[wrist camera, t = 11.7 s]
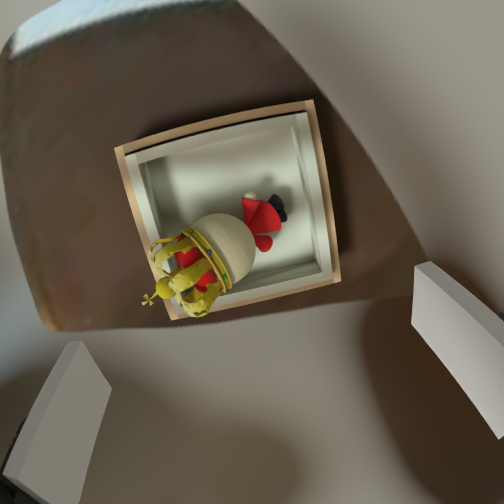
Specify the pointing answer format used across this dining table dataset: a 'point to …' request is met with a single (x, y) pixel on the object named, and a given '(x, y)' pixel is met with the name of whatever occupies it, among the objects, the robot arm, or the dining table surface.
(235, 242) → the toy
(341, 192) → the dining table surface
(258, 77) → the dining table surface
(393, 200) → the dining table surface
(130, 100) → the dining table surface
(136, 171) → the square wooden tray
